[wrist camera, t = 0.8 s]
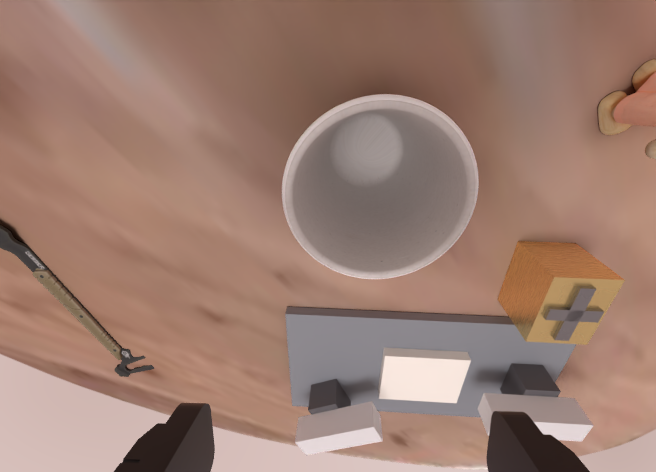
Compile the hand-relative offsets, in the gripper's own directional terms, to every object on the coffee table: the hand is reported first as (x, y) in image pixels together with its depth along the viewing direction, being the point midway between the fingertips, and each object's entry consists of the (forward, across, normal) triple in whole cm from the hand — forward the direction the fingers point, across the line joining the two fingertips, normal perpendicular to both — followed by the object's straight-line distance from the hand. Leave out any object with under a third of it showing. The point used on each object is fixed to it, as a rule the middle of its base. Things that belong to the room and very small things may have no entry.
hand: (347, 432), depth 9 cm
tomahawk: (+21, +26, +5) cm, 34 cm away
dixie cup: (+15, -2, -9) cm, 18 cm away
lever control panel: (+21, -8, +13) cm, 26 cm away
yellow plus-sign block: (+18, -16, +1) cm, 24 cm away
